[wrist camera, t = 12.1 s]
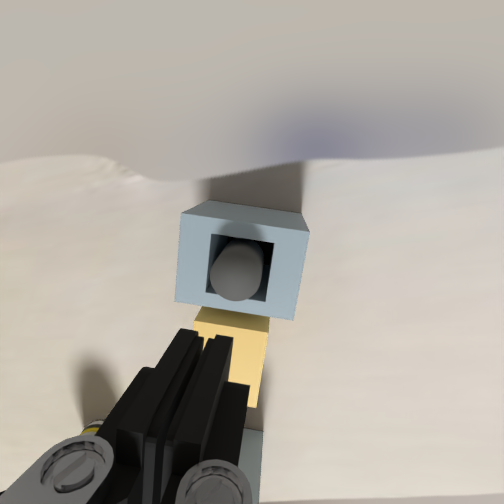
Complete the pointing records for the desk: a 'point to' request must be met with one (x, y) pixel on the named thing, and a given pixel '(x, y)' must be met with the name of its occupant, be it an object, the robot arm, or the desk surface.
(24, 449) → the desk surface
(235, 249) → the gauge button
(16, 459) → the desk surface
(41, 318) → the desk surface
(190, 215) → the frame
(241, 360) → the block
